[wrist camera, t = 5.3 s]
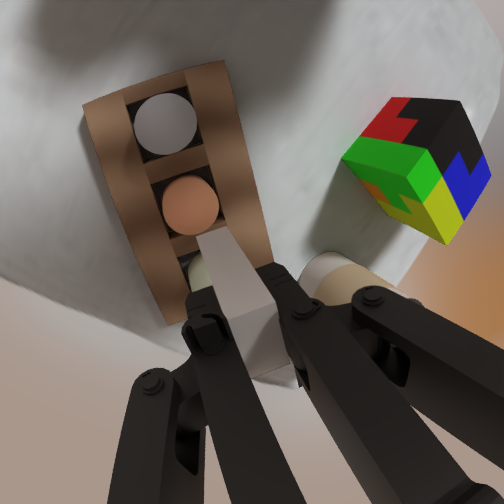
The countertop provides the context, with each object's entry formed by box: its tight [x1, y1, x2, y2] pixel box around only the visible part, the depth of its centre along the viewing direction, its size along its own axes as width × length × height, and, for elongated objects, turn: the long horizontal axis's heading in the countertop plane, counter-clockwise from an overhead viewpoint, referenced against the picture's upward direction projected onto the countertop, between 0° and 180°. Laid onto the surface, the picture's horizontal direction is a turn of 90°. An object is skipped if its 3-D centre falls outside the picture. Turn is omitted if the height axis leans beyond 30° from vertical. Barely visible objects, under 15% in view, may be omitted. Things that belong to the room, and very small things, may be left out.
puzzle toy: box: [341, 97, 491, 246], centre depth 28 cm, size 10×10×10 cm
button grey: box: [134, 93, 197, 155], centre depth 22 cm, size 4×4×3 cm
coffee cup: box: [299, 252, 424, 307], centre depth 30 cm, size 9×9×15 cm
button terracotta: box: [162, 174, 219, 235], centre depth 26 cm, size 4×4×3 cm
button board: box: [82, 60, 274, 325], centre depth 27 cm, size 22×12×2 cm, turn 14°
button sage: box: [188, 252, 212, 292], centre depth 28 cm, size 4×4×3 cm
